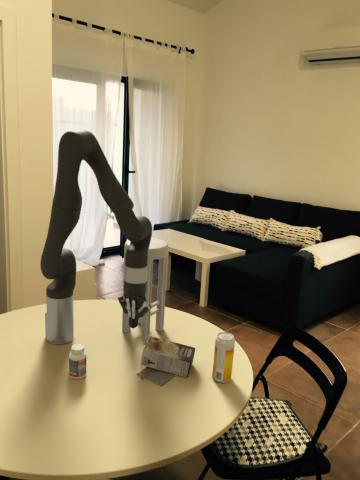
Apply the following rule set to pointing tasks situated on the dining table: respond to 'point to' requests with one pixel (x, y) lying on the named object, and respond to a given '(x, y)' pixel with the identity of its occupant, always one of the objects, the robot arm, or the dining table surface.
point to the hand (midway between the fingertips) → (133, 327)
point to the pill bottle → (77, 362)
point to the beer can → (223, 357)
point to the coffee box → (168, 356)
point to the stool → (155, 251)
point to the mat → (157, 376)
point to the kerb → (147, 373)
